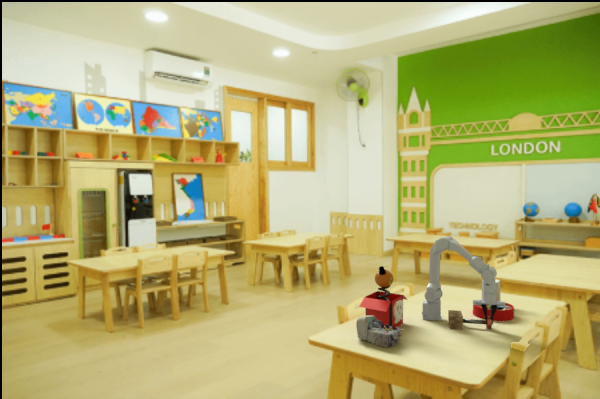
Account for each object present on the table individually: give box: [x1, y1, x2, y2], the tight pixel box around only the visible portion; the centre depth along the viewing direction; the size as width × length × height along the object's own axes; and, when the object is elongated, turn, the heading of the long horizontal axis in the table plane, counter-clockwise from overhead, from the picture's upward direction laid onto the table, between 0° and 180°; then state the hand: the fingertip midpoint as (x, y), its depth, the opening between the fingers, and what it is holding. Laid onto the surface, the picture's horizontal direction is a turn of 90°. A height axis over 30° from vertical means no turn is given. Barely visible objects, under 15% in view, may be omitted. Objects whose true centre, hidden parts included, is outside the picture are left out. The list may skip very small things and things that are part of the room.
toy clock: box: [472, 302, 515, 322], centre depth 232 cm, size 20×6×20 cm
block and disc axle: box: [463, 316, 494, 330], centre depth 213 cm, size 15×6×6 cm, turn 75°
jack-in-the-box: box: [358, 266, 408, 327], centre depth 218 cm, size 26×16×30 cm, turn 143°
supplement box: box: [481, 278, 501, 301], centre depth 250 cm, size 9×9×15 cm
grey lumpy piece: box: [355, 315, 404, 348], centre depth 196 cm, size 13×11×20 cm
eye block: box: [447, 309, 464, 331], centre depth 215 cm, size 6×10×6 cm, turn 165°
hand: (488, 320), depth 211 cm, fingers closed on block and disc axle, 2 cm apart
